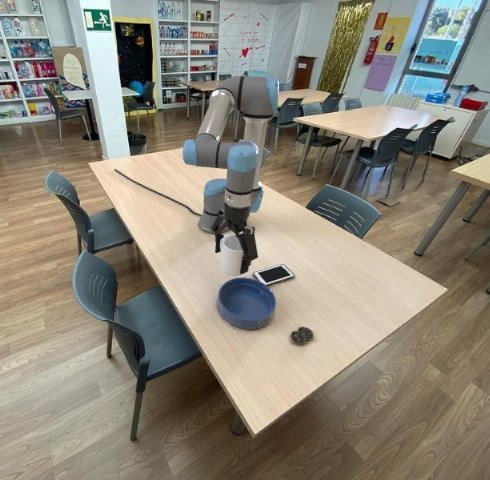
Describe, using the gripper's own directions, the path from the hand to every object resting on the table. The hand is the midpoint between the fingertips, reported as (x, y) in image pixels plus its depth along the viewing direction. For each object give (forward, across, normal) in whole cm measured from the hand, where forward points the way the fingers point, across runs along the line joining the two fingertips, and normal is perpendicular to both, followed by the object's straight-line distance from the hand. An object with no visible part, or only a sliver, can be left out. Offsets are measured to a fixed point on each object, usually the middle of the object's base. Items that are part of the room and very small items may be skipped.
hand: (230, 261), depth 92 cm
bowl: (+17, +7, +2) cm, 18 cm away
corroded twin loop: (+17, +26, +9) cm, 32 cm away
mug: (+2, 0, 0) cm, 2 cm away
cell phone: (+17, +2, +22) cm, 28 cm away
